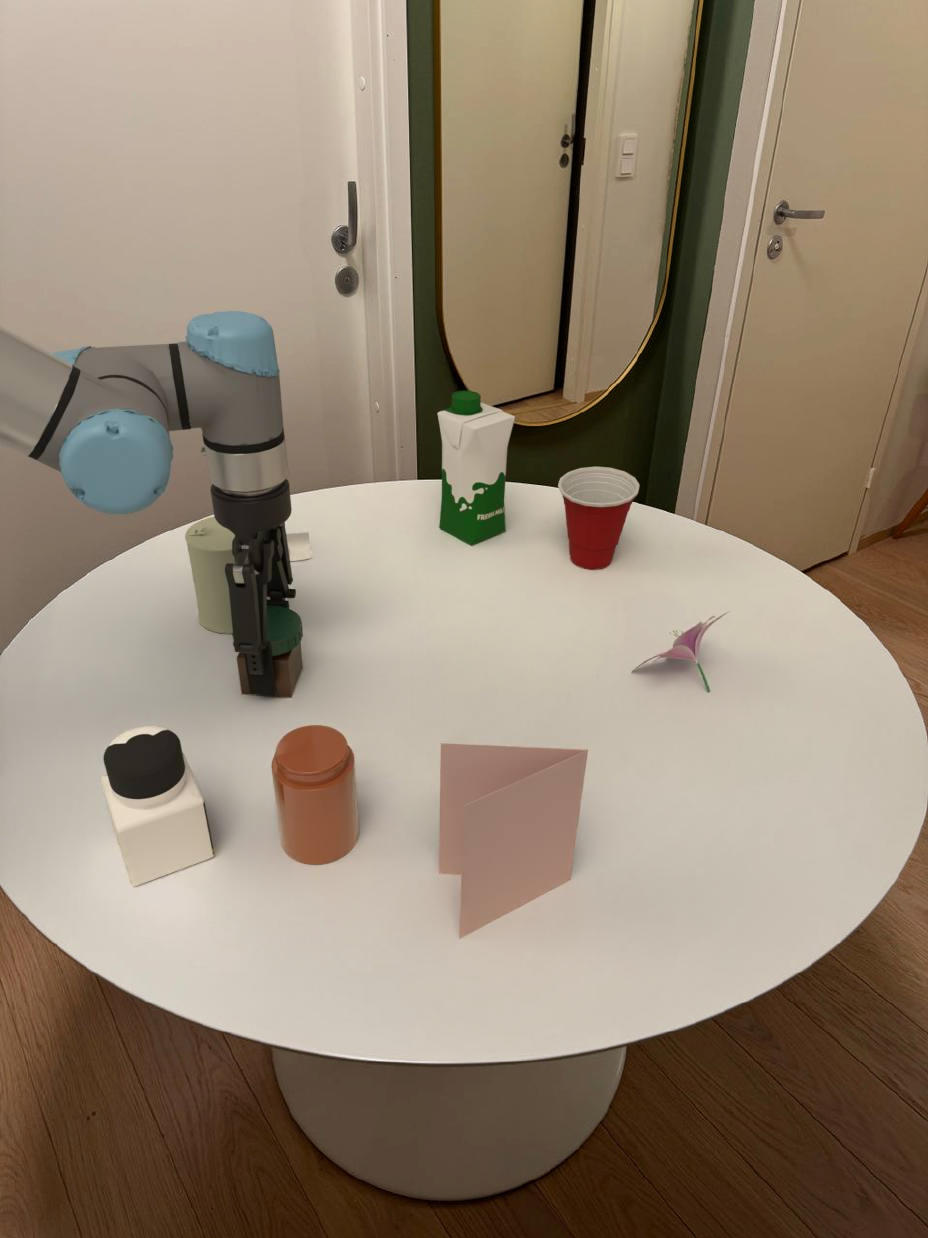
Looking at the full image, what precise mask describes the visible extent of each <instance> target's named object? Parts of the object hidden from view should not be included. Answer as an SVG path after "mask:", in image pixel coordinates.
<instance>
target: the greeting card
mask: <svg viewBox="0 0 928 1238" xmlns="http://www.w3.org/2000/svg"><path fill="white" fill-rule="evenodd" d="M588 753H589V749H582V748H581V749H580V748H561V747H559V748H556V747H535V746H512V745H494V744H492V745H491V744H489V745H488V744H471V743H470V744H468V743H449V742H448V743H447V742H441V743H440V762H439V763H440V764H439V765H440V769H439V770H440V771H439V773H440V775H439V830H438V831H439V834H438V835H439V836H438V838H439V839H438V841H439V842H438V843H439V845H438V874H439V875H440V874H441V875H442V874H443V875H461V878H460V880H461V881H460V903H459V904H460V906H459V907H460V908H459V932H458V933H459V934H458V935H459V936H458V937H459V940H460V939H462V938H463V937H466V936H468V935H470V934H471V933H474V932H475V931H477V930H479V929H481V928H483V927H484V926H486V925H488V924H490V923H492V922H493V921H495V920H497V919H499V918H501V917H504V916H505V915H507V914H509V913H511V912H513V911H515V910H517V909H518V908H520V907H522V906H524V905H525V904H527V903H529V902H531V901H533V900H536V899H538V898H539V897H541V896H542V895H543V896H544V894H546V893H548V892H550V891H552V890H554V889H556V888H558V887H559V886H561V885H563V884H565V883H566V882H569V881H570V880H571V875H572V870H573V869H572V868H573V862H574V855H575V847H576V840H577V834H578V833H577V832H578V827H579V826H578V825H579V820H580V819H579V818H580V811H581V803H582V797H583V790H584V783H585V775H586V769H587V768H586V767H587V762H588V761H587V760H588Z"/></svg>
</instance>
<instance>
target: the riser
mask: <svg viewBox="0 0 928 1238" xmlns="http://www.w3.org/2000/svg"><path fill="white" fill-rule="evenodd" d="M302 653H303V652H302V641H301V642H300V643H299V644H298V645H297V646H296V647H295V648H294V649H292V650H290V651H288V652H286V653H284V654H280V655H276V656H272V659H273V667H274V676H275V684H276V693H275V695H268V694H253V693H250V691H249V684H248V677H247V670H246V663H245V656H244V653H238V654H237V656H236V664H237V672H238V678H239V684H240V685H239V686H240V693H241V695H245V696H246V695H248V696H263V697H276V698H293V695H294V692H295V689H296V687H297V684H298V683H299V680H300V677H301V673H302V671H303V669H304V665H303V664H304V663H303V654H302Z"/></svg>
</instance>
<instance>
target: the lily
mask: <svg viewBox="0 0 928 1238" xmlns="http://www.w3.org/2000/svg"><path fill="white" fill-rule="evenodd" d="M730 612H731V610H729V611H727V612H725V613H723V614H722V615H720V616H718V617H716V615H713V616H710V617H709V618H708V619H707V620H706V621H705V622H702V621H699V622H698V623H697V624H696V625H694V626H692V627H691V628H689V629H687V630H685V631H684V632H683V631H682V630H681V634H679V633H678V630H672V632H669V634H670V635H672V636H674V637H675V639H674V641H673V643H672V648H670V649H668V650H667V651H664V652H661V653H658V654H655V655H653V656H652V657H650V658H648V659H646V660H645V661H642V662H641V663H640V664H638V666H636V667H635V668H634V669H632V672H635V671H636V670H637V669H638V668H640V667H641V666H643V665H645V664H647V662H649V661H651V660H653V659H654V660H653V661H651V662H650V663H649V665H652V664H653V663H656V662H657V661H658V660H659V659H675V660H676V659H677V660H686V661H693V662H694V663H695V665H696V666H697V668H698V670H699V673H700V675H701V677H702V680H703V682H704V685H705V688H706V690H707V693H711V689H710V686H709V683H708V681H707V678H706V674H705V673H704V671H703V668H702V666H701V664H700V661H699V659H698V655H699V649H700V645H701V642H702V639H703V637H704V635H705V633H706V632H707V630H708V629H709V628H710V627H711V626H712V625H713V624H715V622H717V621H719V620H720V619H721V618H723V617H724V616H725V615H727V614H729V613H730ZM715 617H716V618H715ZM714 618H715V619H714ZM710 620H712V621H710ZM709 621H710V622H709ZM708 622H709V623H708ZM673 633H674V634H673ZM655 658H656V659H655Z"/></svg>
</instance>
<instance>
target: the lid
mask: <svg viewBox="0 0 928 1238" xmlns="http://www.w3.org/2000/svg"><path fill="white" fill-rule="evenodd" d="M303 628H304V627H303V622H302V619H301V616H300V615H299V613H298V612H296V611H295V610H293V609H291V608H290V607H289V608H286V607H281V606H267V641H270V642H271V651H272V656H276V655H280V654H284V653H286V652H288V651H290V650H292V649H294V648H295V647H296V646H297V645H298V644H299V643H300V642H301V643H302V639H303V637H304V629H303ZM231 635H233V633H232V634H231ZM232 639H233V638H232ZM232 641H233V642H234V639H233V640H232Z"/></svg>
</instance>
